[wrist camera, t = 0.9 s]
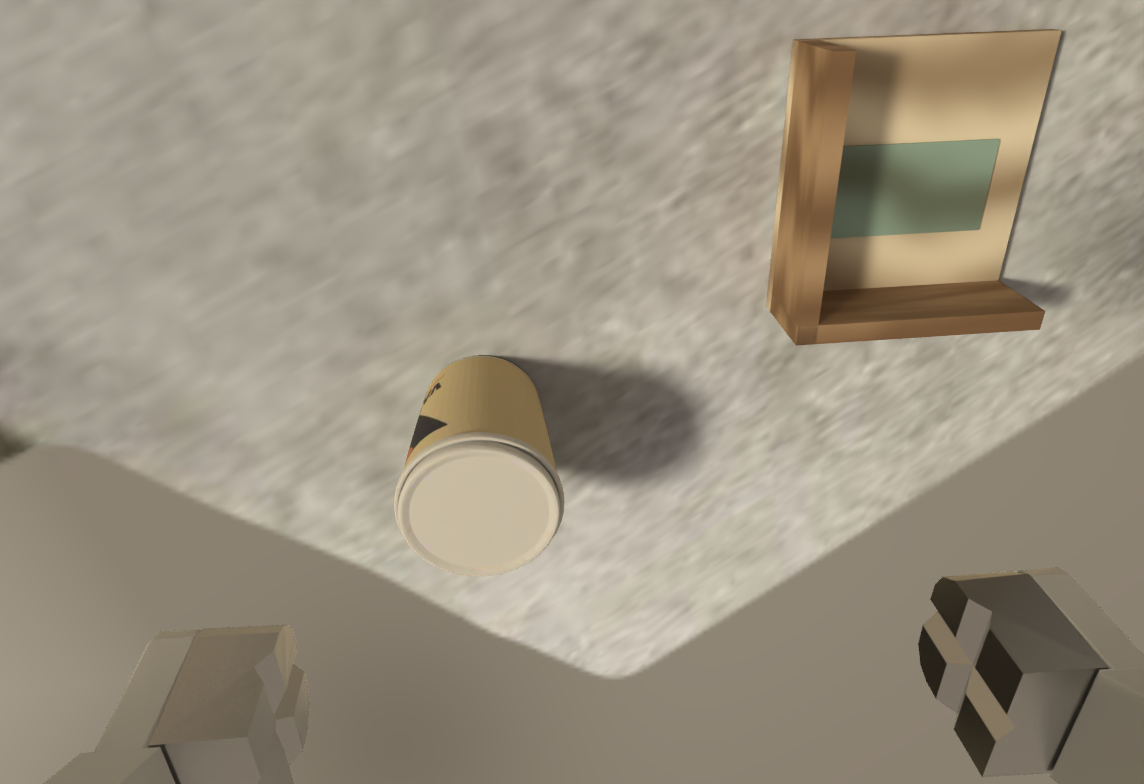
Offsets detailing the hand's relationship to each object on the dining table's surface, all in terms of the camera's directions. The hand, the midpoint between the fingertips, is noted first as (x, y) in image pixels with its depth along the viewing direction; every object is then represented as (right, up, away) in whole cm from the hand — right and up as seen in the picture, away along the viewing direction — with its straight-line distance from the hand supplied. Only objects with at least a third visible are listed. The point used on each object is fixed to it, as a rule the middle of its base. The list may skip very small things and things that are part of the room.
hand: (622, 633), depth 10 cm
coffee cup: (-7, +2, +43) cm, 44 cm away
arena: (+19, +16, +38) cm, 46 cm away
